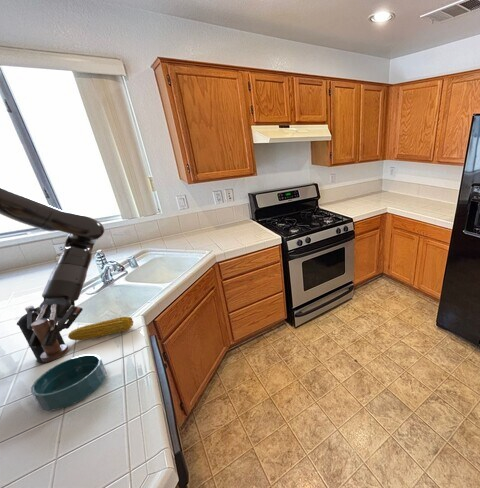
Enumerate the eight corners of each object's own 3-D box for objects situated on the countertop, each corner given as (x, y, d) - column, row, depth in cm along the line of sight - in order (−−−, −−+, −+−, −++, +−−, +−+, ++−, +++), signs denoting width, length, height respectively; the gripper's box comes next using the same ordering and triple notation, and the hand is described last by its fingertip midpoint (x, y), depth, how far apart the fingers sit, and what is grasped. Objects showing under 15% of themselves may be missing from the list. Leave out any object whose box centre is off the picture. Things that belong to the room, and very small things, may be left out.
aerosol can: (31, 367, 89) (4, 317, 82) (44, 351, 96) (20, 304, 89) (62, 358, 92) (38, 309, 85) (72, 344, 99) (51, 298, 92)
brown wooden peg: (38, 364, 68) (20, 330, 65) (46, 352, 72) (30, 320, 69) (64, 356, 70) (48, 323, 67) (71, 345, 75) (56, 313, 71)
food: (136, 324, 109) (131, 312, 107) (131, 332, 104) (126, 320, 102) (74, 337, 102) (68, 325, 100) (66, 347, 97) (59, 334, 95)
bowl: (29, 422, 69) (19, 405, 67) (51, 381, 82) (44, 366, 80) (101, 395, 76) (94, 379, 74) (111, 362, 89) (105, 347, 87)
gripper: (28, 279, 72) (-3, 346, 65) (78, 277, 72) (52, 344, 64) (55, 287, 79) (29, 348, 71) (100, 285, 79) (80, 346, 71)
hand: (40, 346), depth 68 cm, fingers closed on brown wooden peg, 3 cm apart
